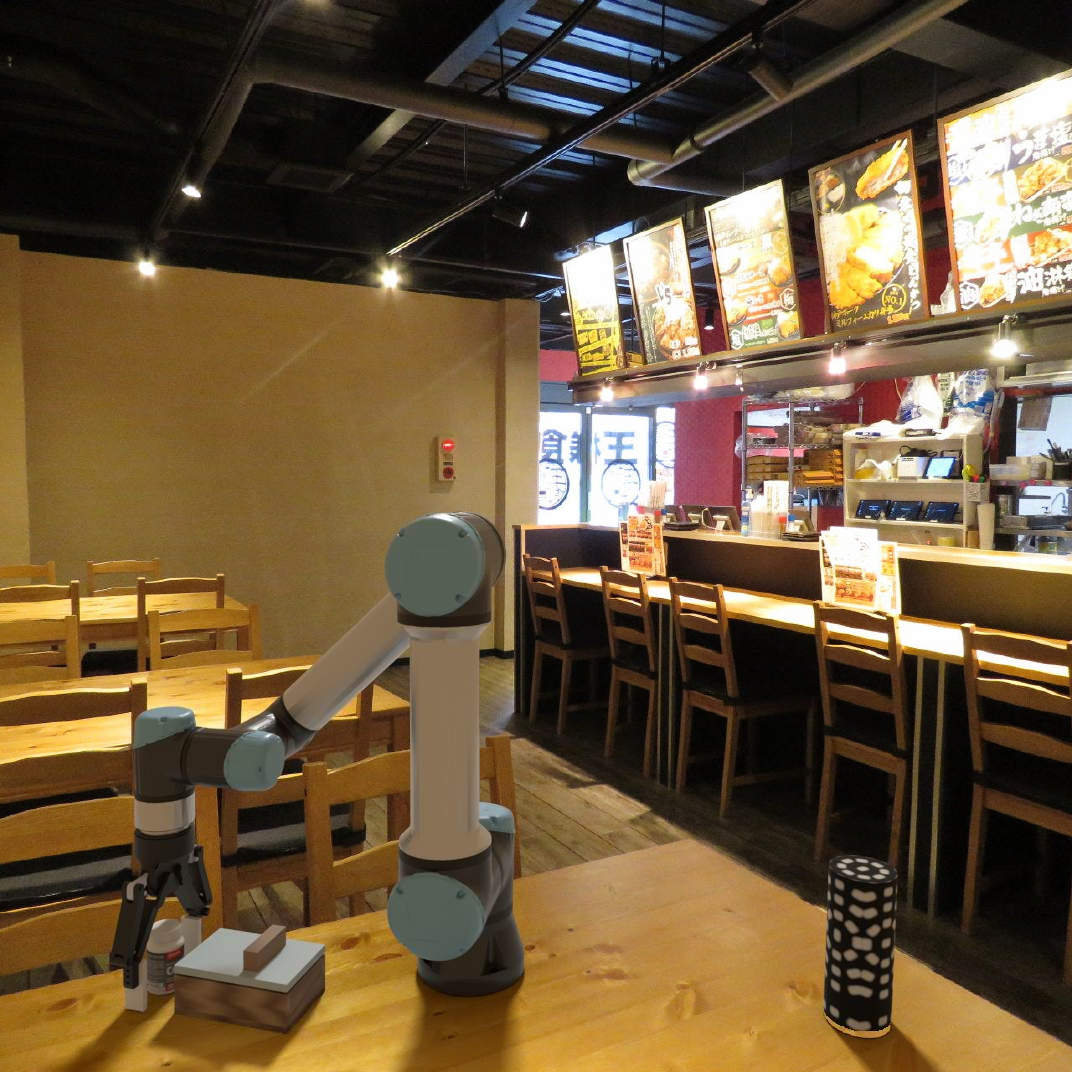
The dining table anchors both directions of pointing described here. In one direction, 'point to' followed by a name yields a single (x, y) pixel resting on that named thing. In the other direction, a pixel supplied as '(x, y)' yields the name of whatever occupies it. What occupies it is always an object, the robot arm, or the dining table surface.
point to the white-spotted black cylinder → (860, 942)
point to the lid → (252, 958)
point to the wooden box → (249, 1000)
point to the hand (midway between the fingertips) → (165, 984)
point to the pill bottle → (163, 955)
